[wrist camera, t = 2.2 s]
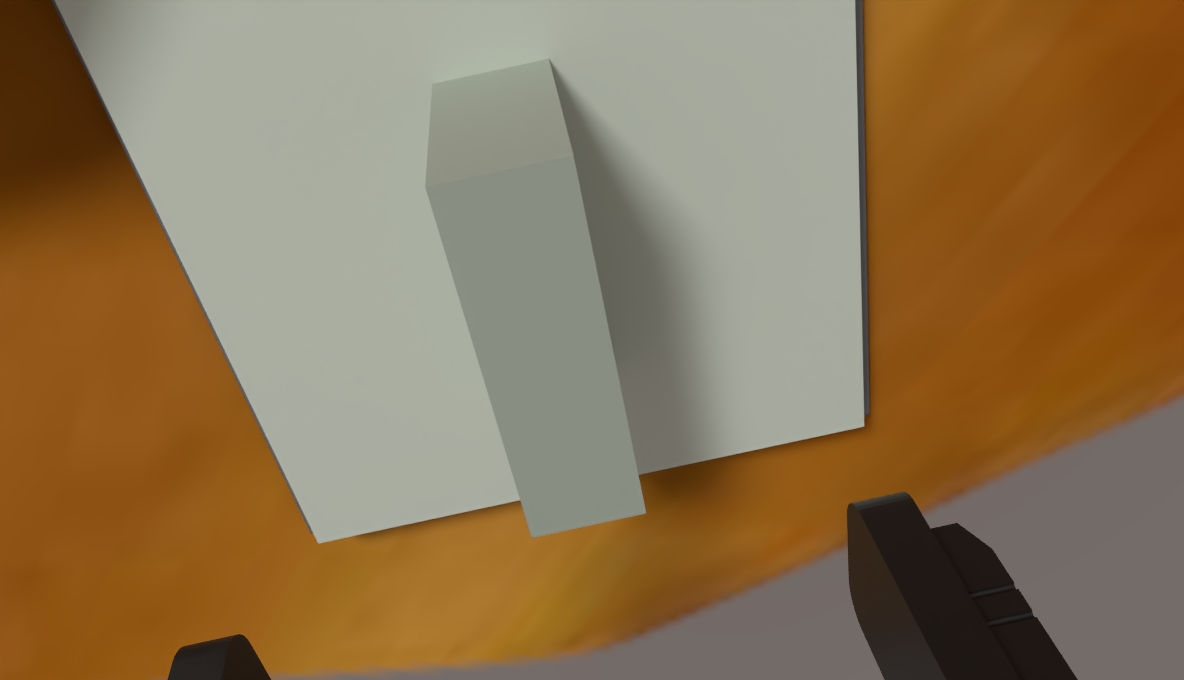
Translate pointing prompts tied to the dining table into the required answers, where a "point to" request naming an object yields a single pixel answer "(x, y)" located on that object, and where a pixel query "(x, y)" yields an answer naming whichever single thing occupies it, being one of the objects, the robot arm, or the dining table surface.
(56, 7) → the mat
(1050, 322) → the dining table surface
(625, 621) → the dining table surface
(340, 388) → the cover
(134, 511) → the dining table surface
